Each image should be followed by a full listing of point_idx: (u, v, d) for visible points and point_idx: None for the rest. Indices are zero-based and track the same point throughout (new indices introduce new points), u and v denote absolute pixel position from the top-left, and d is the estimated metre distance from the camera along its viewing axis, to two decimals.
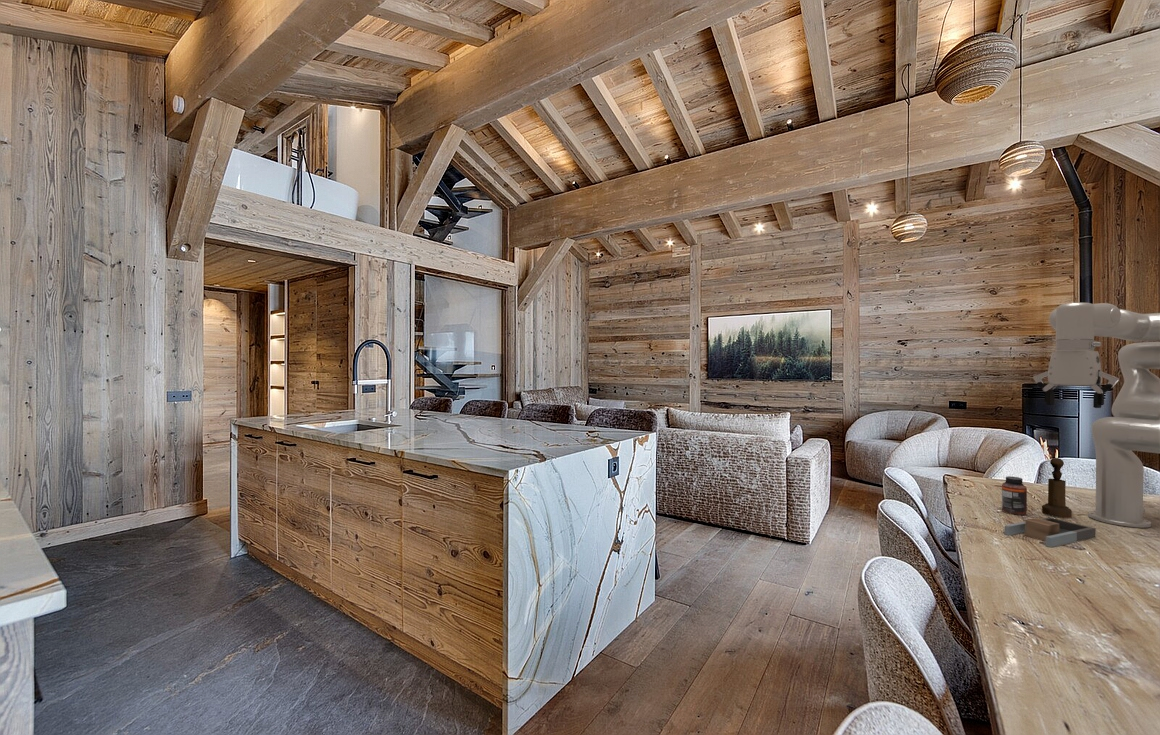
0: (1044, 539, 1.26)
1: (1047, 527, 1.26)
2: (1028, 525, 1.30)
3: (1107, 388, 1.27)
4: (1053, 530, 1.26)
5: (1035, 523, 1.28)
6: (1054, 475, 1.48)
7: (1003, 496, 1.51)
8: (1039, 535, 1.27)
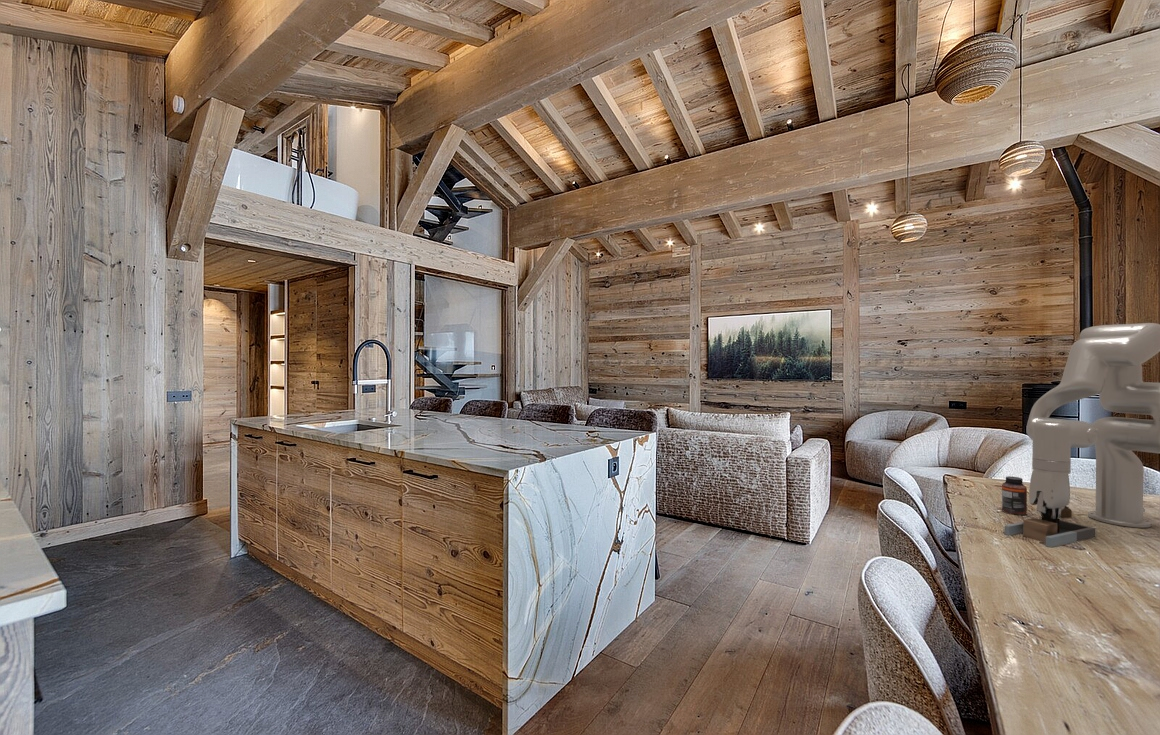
0: (1042, 539, 1.26)
1: (1045, 527, 1.25)
2: (1026, 525, 1.29)
3: None
4: (1051, 530, 1.26)
5: (1033, 523, 1.28)
6: None
7: (1003, 496, 1.51)
8: (1037, 535, 1.27)
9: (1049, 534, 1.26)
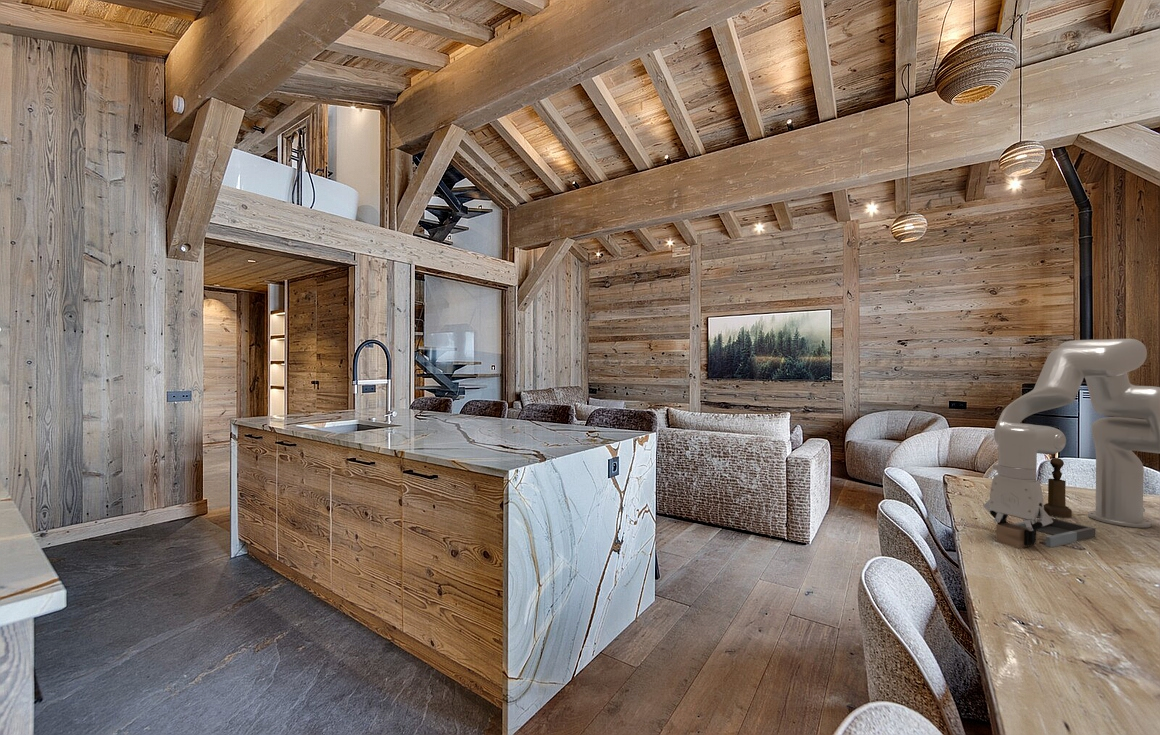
0: (1015, 545, 1.22)
1: (1018, 532, 1.21)
2: (999, 530, 1.25)
3: None
4: (1024, 536, 1.22)
5: (1006, 528, 1.24)
6: (1054, 475, 1.48)
7: None
8: (1009, 541, 1.23)
9: (1022, 540, 1.22)
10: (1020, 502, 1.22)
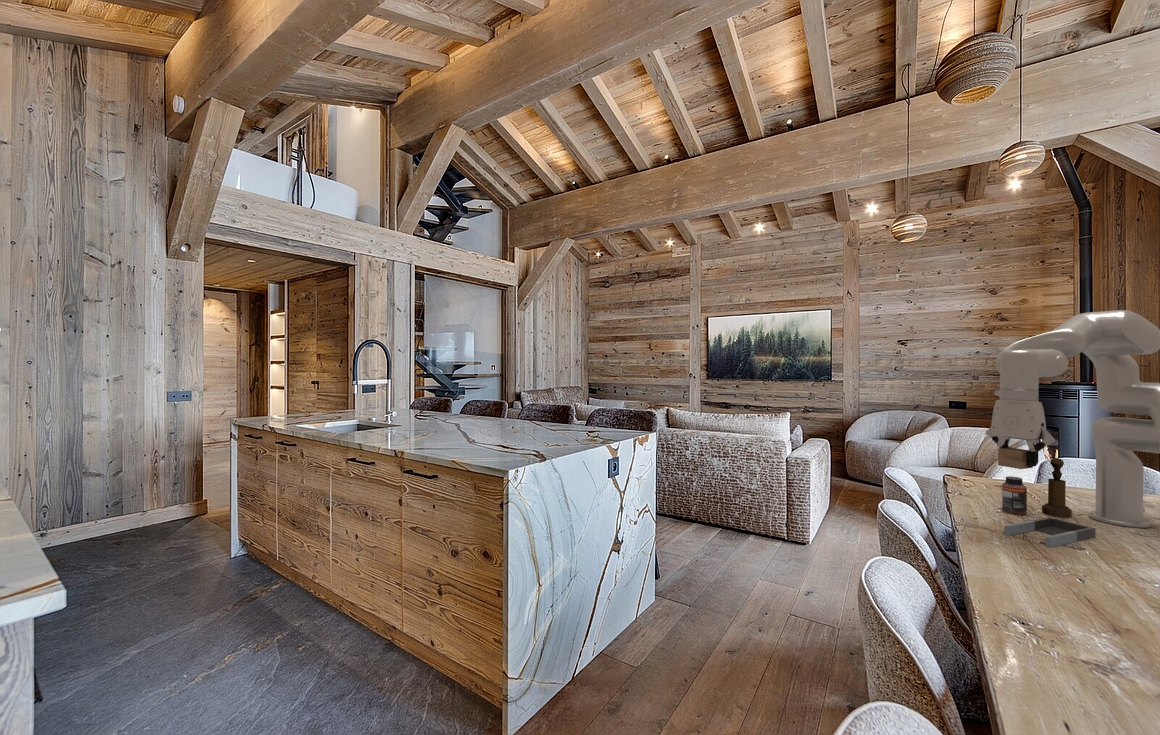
0: (1017, 466, 1.22)
1: (1020, 453, 1.21)
2: (1001, 453, 1.25)
3: None
4: (1026, 457, 1.22)
5: (1008, 451, 1.24)
6: (1054, 475, 1.48)
7: (1003, 496, 1.51)
8: (1011, 463, 1.23)
9: (1024, 461, 1.22)
10: (1022, 423, 1.22)
